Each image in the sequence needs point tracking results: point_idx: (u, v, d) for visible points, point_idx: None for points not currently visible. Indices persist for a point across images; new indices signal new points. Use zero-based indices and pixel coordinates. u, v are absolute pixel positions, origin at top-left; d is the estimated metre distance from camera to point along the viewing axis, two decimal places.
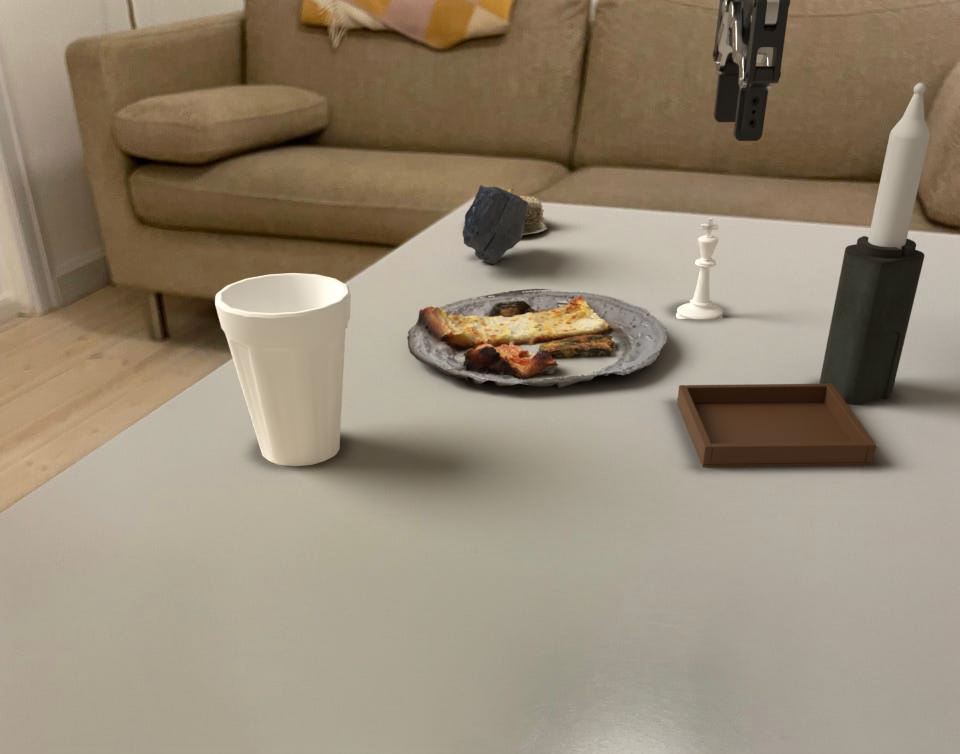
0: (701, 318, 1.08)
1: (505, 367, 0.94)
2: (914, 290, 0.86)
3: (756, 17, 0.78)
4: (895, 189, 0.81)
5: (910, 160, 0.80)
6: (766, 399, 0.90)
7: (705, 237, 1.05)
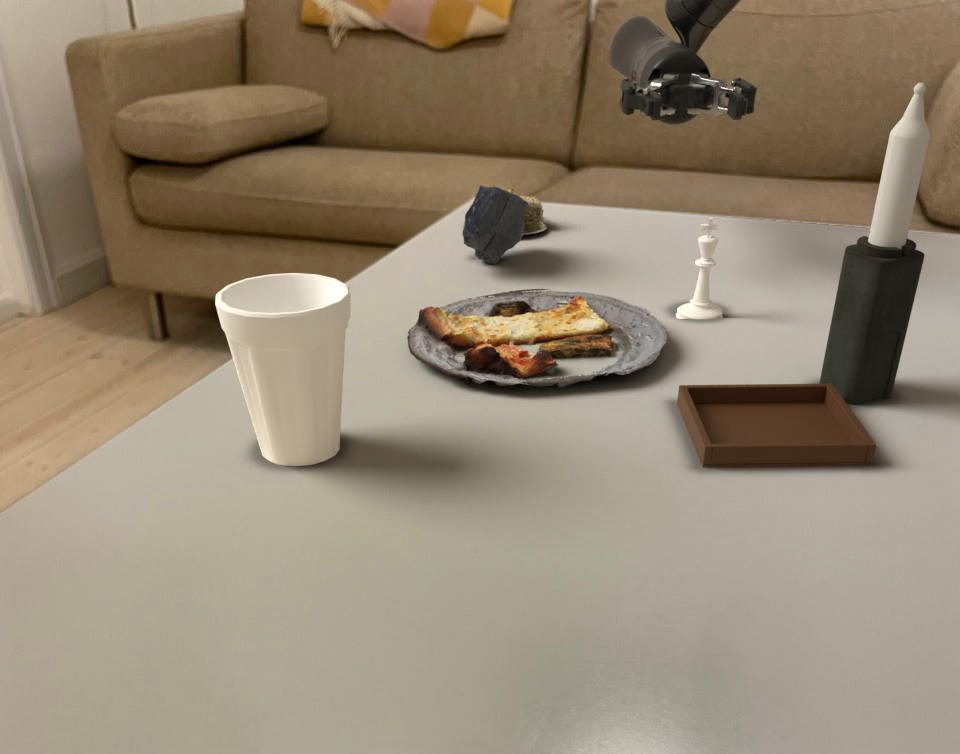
0: (701, 318, 1.08)
1: (505, 367, 0.94)
2: (914, 290, 0.86)
3: (620, 105, 1.16)
4: (895, 189, 0.81)
5: (910, 160, 0.80)
6: (766, 399, 0.90)
7: (705, 237, 1.05)
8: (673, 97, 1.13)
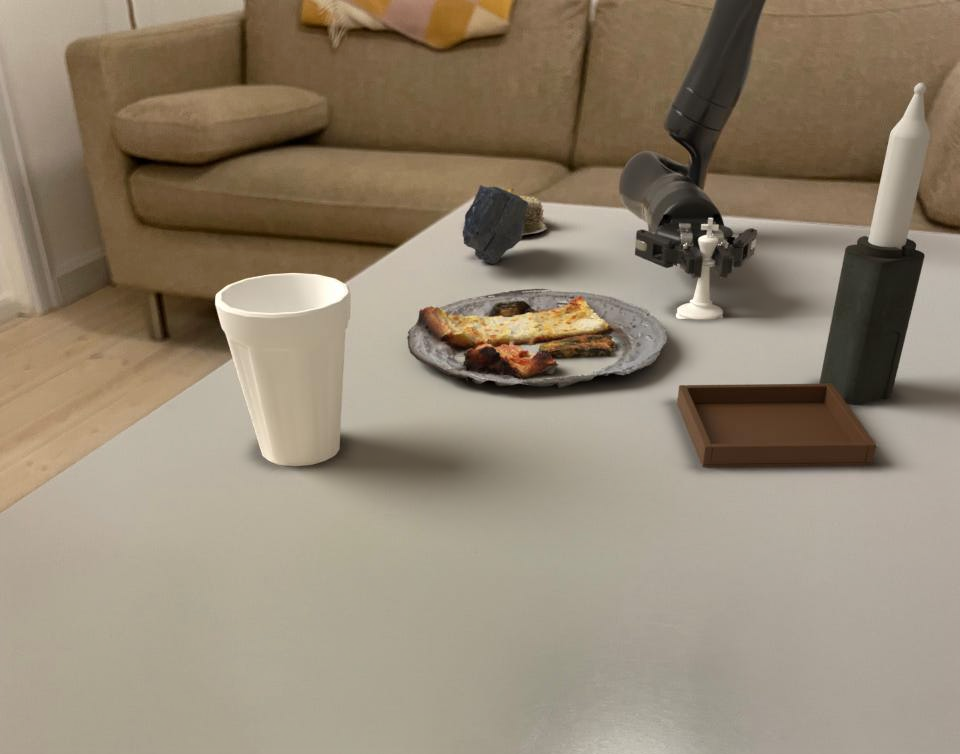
0: (701, 318, 1.08)
1: (505, 367, 0.94)
2: (914, 290, 0.86)
3: (640, 256, 1.12)
4: (896, 189, 0.81)
5: (910, 160, 0.80)
6: (766, 399, 0.90)
7: (705, 237, 1.05)
8: None
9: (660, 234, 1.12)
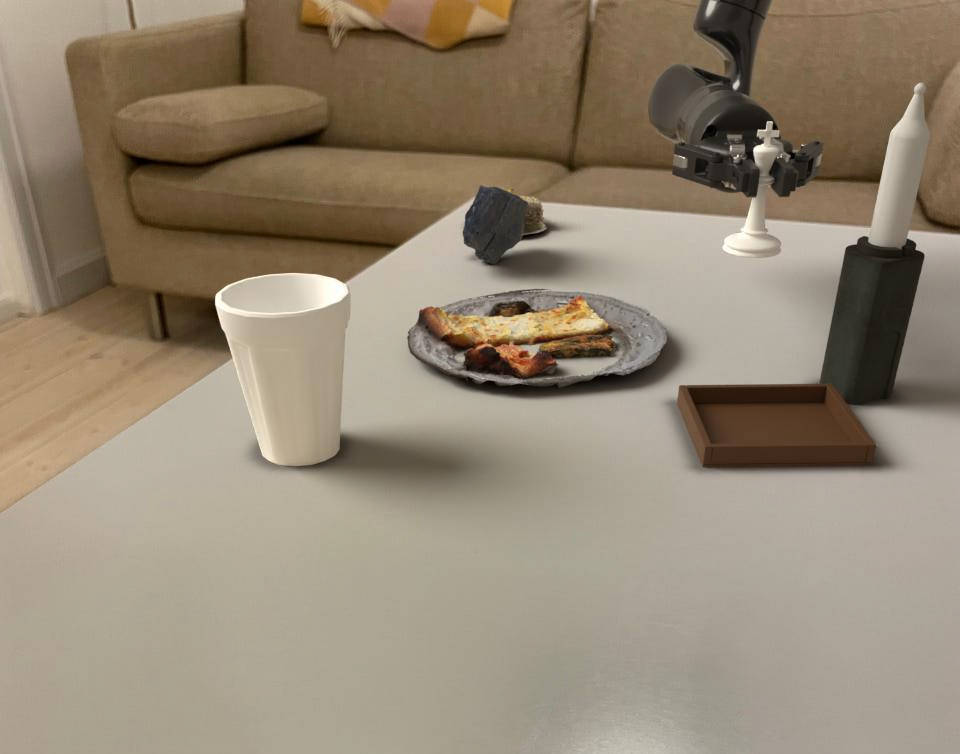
0: (755, 249, 0.87)
1: (505, 367, 0.94)
2: (914, 290, 0.86)
3: (679, 176, 0.91)
4: (896, 189, 0.81)
5: (910, 160, 0.80)
6: (766, 399, 0.90)
7: (762, 146, 0.84)
8: None
9: (703, 148, 0.91)
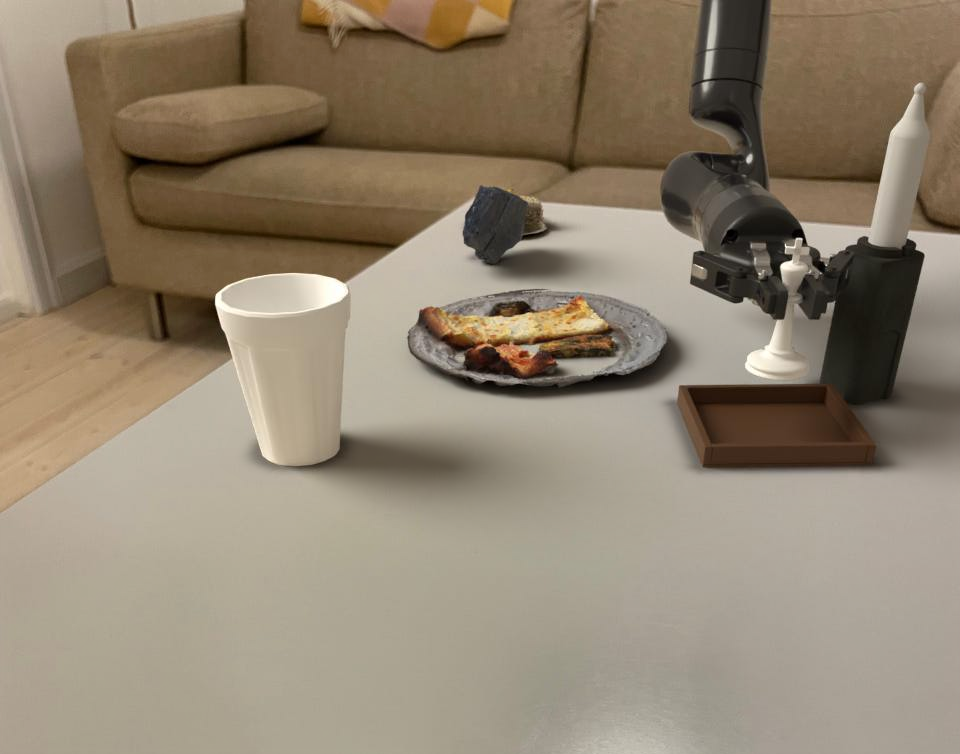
0: (781, 372, 0.80)
1: (505, 367, 0.94)
2: (914, 290, 0.86)
3: (698, 286, 0.84)
4: (896, 189, 0.81)
5: (910, 160, 0.80)
6: (766, 399, 0.90)
7: (791, 264, 0.78)
8: None
9: (724, 257, 0.84)
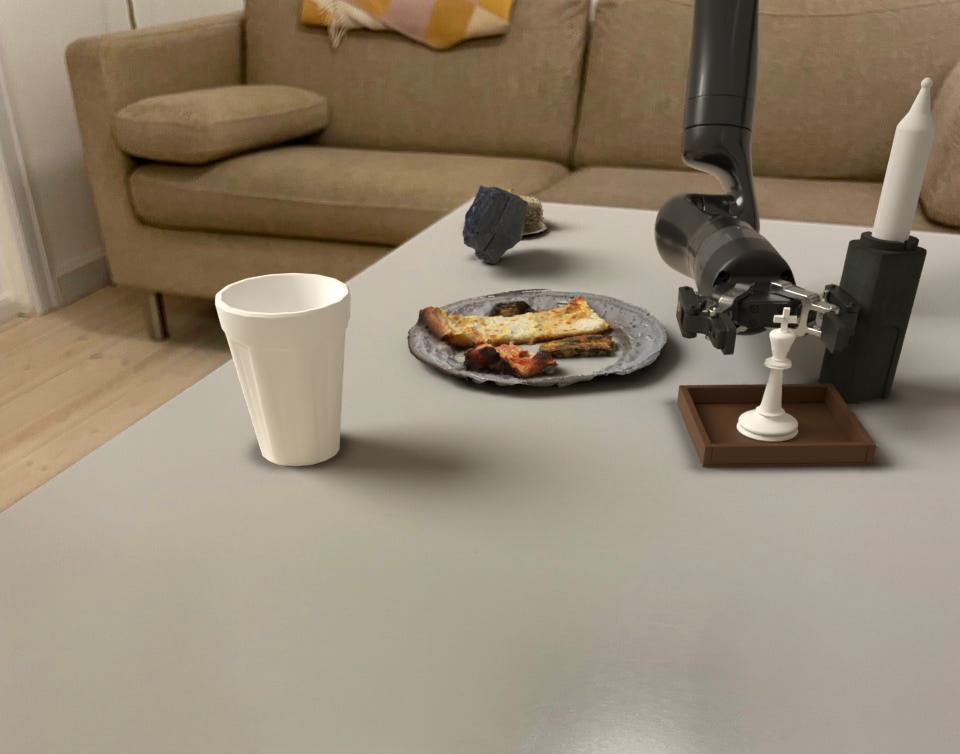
0: (771, 434, 0.83)
1: (505, 367, 0.94)
2: (915, 286, 0.86)
3: (677, 319, 0.89)
4: (899, 182, 0.82)
5: (914, 153, 0.81)
6: None
7: (779, 332, 0.81)
8: (748, 315, 0.86)
9: (716, 298, 0.88)
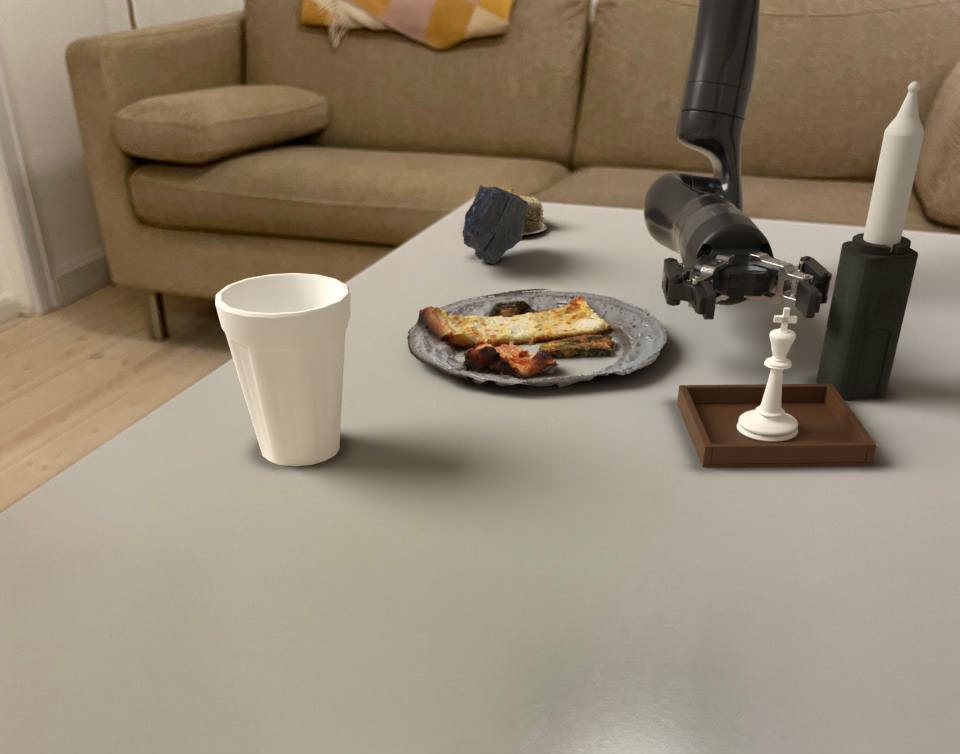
0: (771, 434, 0.83)
1: (505, 367, 0.94)
2: (906, 290, 0.86)
3: (662, 288, 0.96)
4: (885, 187, 0.82)
5: (899, 157, 0.81)
6: None
7: (779, 332, 0.81)
8: (728, 284, 0.93)
9: (699, 268, 0.94)
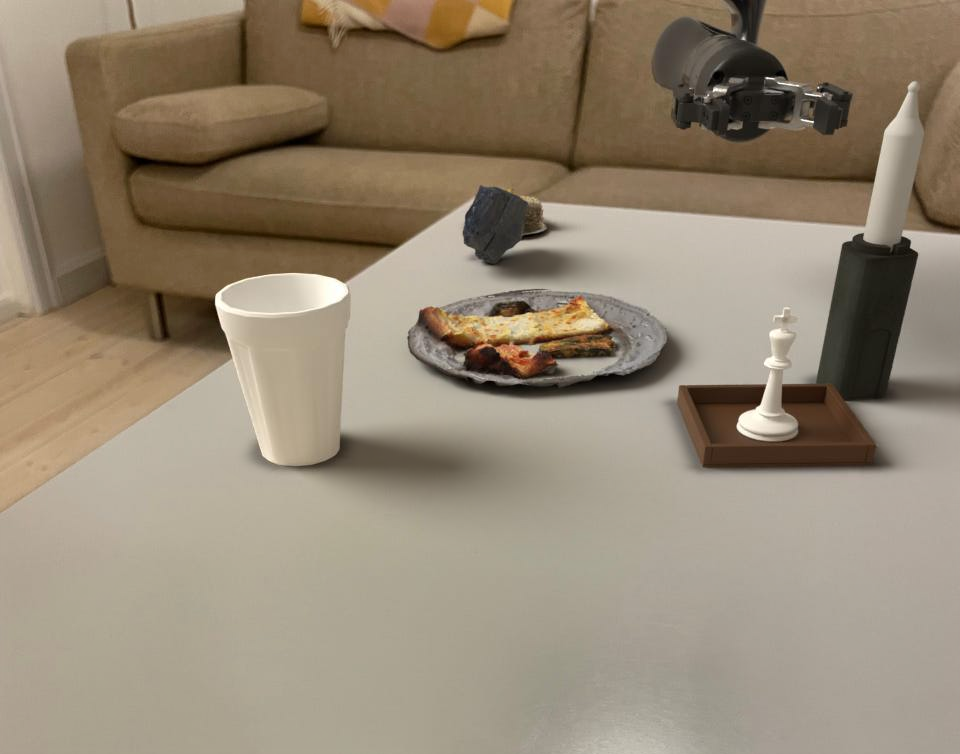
0: (771, 434, 0.83)
1: (505, 367, 0.94)
2: (906, 290, 0.86)
3: (672, 117, 0.90)
4: (885, 187, 0.82)
5: (899, 158, 0.81)
6: None
7: (779, 332, 0.81)
8: (742, 107, 0.87)
9: None
